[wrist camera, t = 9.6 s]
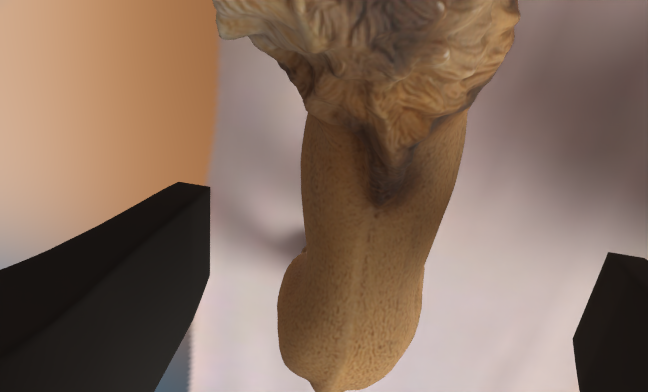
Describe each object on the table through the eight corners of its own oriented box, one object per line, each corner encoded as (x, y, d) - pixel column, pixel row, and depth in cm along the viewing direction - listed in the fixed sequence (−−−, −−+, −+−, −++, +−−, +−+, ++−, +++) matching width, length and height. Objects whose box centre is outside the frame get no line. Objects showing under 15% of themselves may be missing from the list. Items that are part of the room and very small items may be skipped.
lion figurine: (244, -214, 13) (-10, -293, 6) (499, -242, 12) (617, -381, 5) (306, 313, 20) (233, 599, 13) (470, 319, 20) (498, 631, 12)
